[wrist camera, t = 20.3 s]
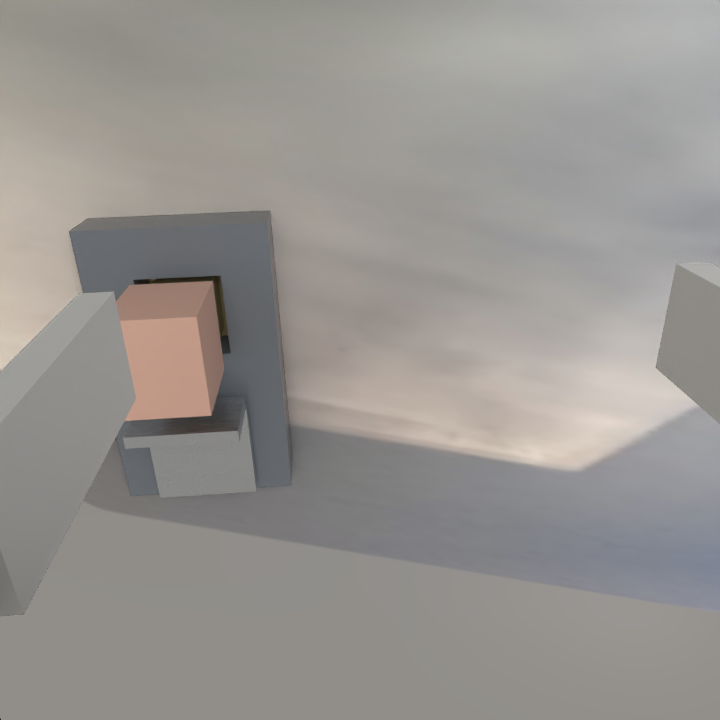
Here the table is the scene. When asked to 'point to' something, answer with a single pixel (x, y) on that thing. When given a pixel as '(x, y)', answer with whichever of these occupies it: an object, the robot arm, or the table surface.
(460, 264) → the table surface
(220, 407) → the shutter
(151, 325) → the plug
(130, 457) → the socket block
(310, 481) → the table surface
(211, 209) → the table surface
